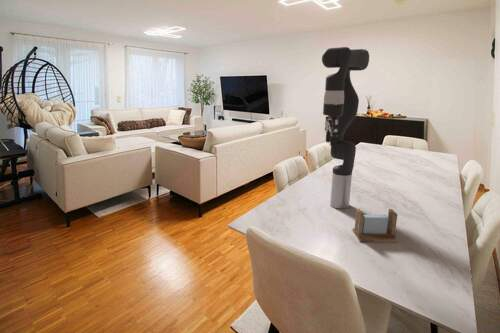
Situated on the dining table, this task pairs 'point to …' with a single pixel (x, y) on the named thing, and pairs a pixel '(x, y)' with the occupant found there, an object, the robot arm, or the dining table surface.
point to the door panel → (374, 224)
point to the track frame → (380, 238)
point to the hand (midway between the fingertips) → (330, 143)
